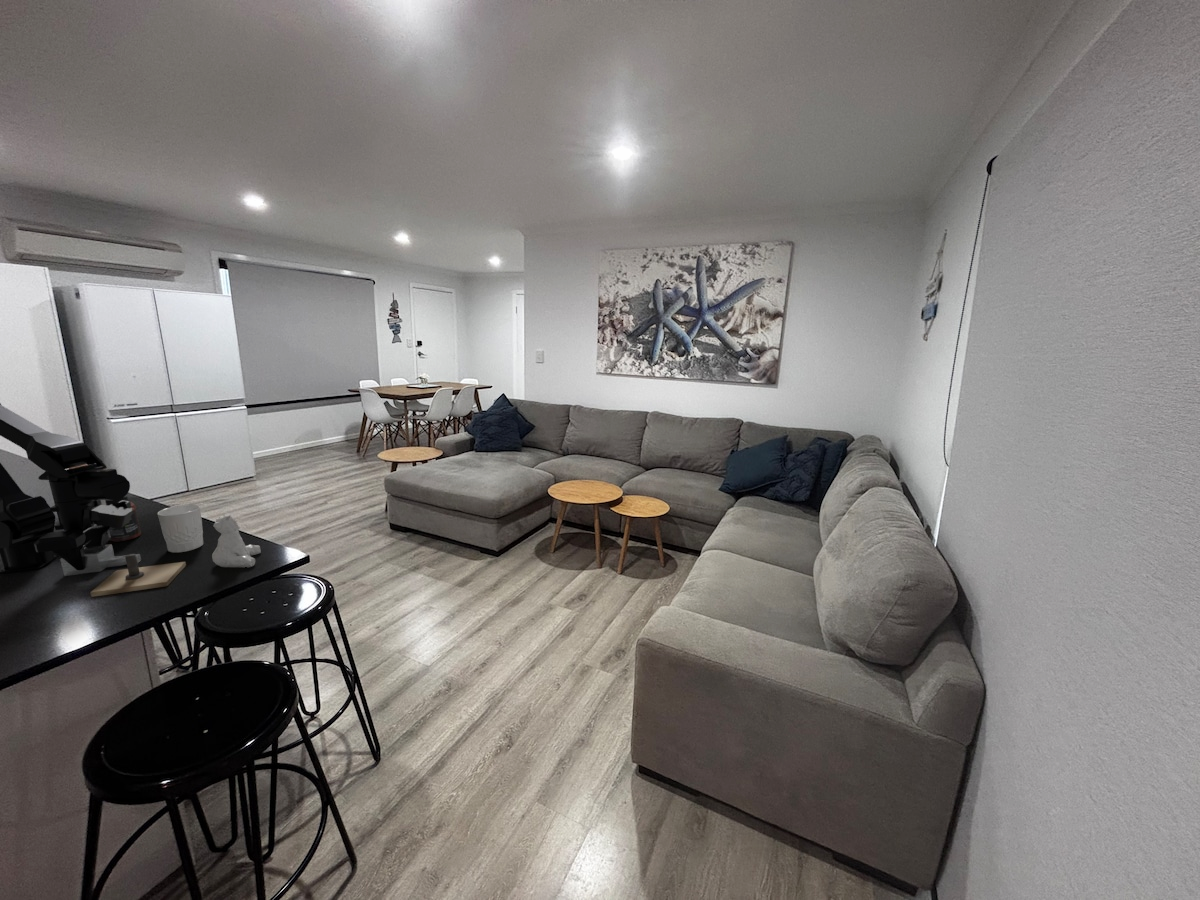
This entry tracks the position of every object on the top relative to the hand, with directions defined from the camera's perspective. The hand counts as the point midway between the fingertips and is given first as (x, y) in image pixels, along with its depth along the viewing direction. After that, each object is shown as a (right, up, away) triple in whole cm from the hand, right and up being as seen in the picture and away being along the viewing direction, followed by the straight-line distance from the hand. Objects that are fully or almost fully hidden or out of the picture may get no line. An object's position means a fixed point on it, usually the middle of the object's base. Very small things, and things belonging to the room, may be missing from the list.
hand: (89, 563), depth 105 cm
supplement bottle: (-8, +3, +16) cm, 18 cm away
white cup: (+12, +1, +12) cm, 16 cm away
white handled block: (+2, -1, +1) cm, 3 cm away
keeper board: (+16, -3, -4) cm, 17 cm away
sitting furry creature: (+30, -1, +5) cm, 30 cm away
